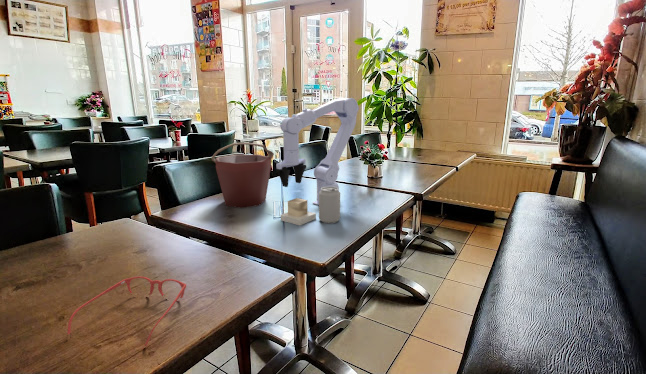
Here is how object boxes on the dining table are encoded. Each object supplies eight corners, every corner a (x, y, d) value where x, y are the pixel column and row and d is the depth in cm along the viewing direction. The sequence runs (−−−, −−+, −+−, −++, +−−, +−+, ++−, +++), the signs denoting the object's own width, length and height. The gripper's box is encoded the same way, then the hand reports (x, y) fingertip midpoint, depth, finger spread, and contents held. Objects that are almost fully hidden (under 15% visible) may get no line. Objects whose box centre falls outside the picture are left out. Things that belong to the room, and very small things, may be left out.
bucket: (277, 195, 157) (275, 139, 151) (271, 210, 136) (269, 146, 130) (222, 195, 156) (218, 139, 150) (208, 210, 135) (203, 146, 129)
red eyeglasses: (196, 301, 75) (194, 280, 74) (149, 353, 60) (146, 327, 58) (124, 294, 78) (121, 274, 76) (61, 342, 62) (56, 318, 61)
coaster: (297, 213, 131) (297, 208, 131) (315, 218, 126) (315, 213, 126) (280, 220, 124) (280, 214, 124) (299, 225, 119) (299, 220, 119)
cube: (296, 211, 128) (296, 198, 127) (307, 213, 125) (307, 200, 124) (287, 214, 124) (287, 201, 123) (298, 217, 122) (298, 203, 120)
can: (338, 225, 120) (338, 191, 117) (316, 223, 121) (316, 190, 118) (341, 218, 127) (341, 186, 124) (321, 216, 128) (321, 185, 125)
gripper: (295, 147, 140) (296, 179, 143) (270, 151, 128) (271, 186, 132) (309, 148, 135) (309, 182, 139) (284, 152, 124) (284, 189, 127)
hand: (291, 184), depth 135 cm, fingers open, 7 cm apart
